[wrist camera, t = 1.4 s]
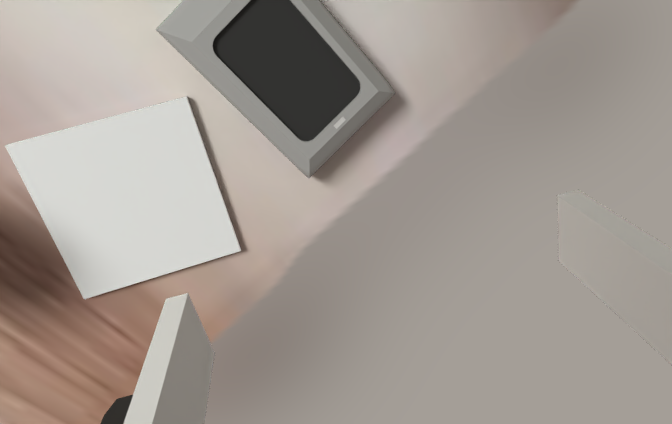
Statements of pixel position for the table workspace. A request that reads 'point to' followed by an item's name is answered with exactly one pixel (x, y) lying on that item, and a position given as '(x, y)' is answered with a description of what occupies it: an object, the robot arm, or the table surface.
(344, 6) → the table surface
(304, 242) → the table surface
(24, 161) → the mat
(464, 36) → the table surface
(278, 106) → the grey box
